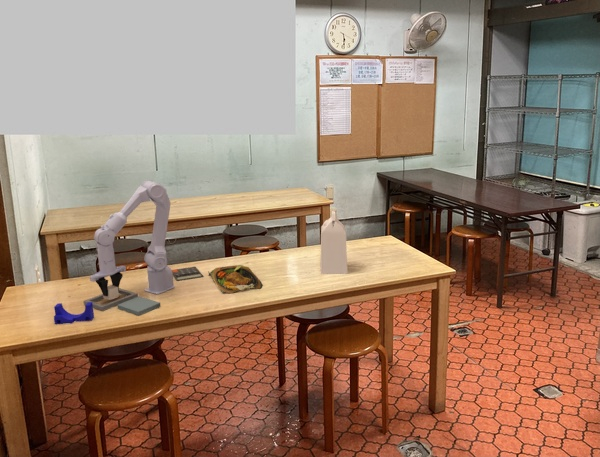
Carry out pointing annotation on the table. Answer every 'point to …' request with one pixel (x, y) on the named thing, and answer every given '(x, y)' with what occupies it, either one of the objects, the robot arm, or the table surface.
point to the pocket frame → (128, 295)
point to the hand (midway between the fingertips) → (110, 293)
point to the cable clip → (66, 317)
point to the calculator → (186, 273)
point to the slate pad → (138, 305)
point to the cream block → (112, 292)
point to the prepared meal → (234, 278)
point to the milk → (333, 247)
